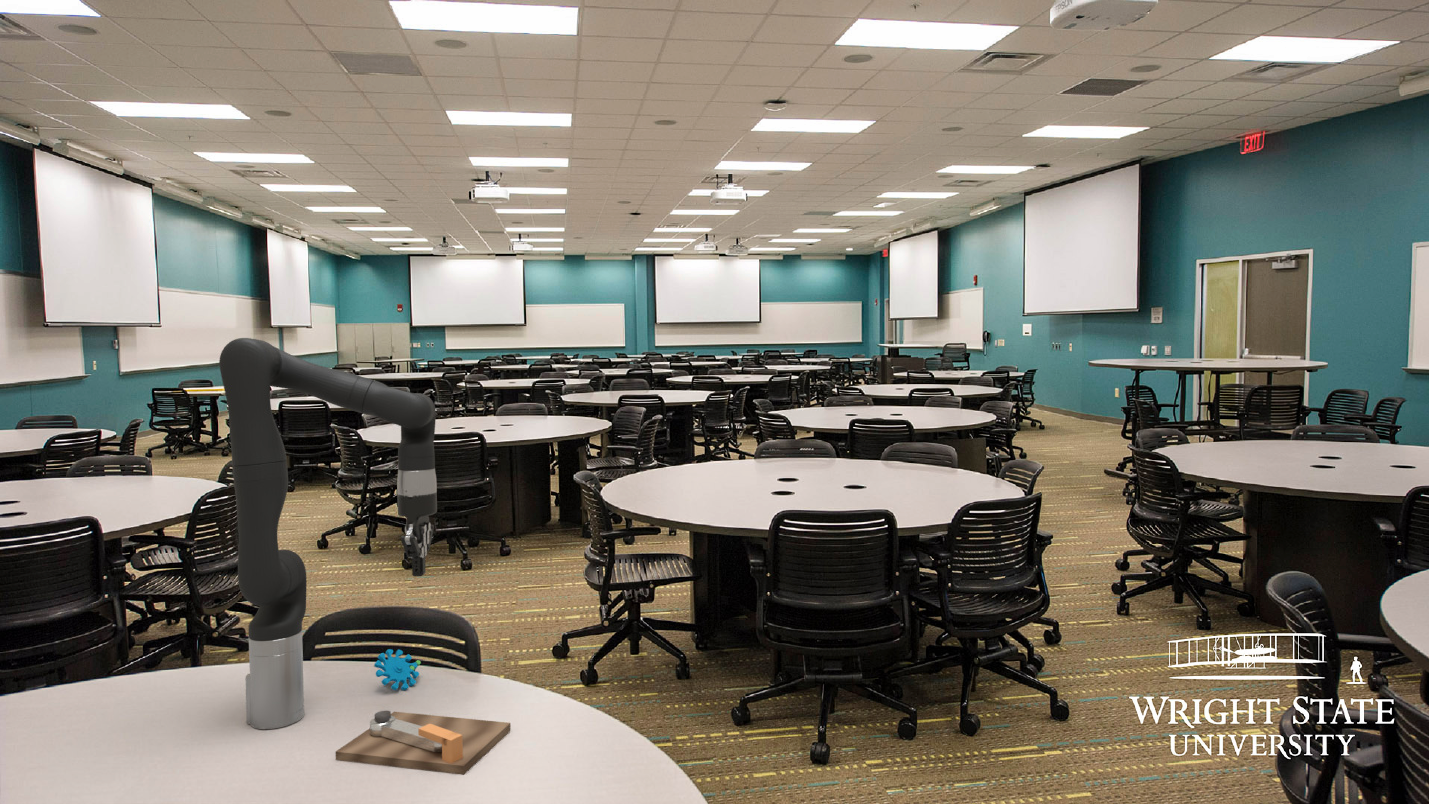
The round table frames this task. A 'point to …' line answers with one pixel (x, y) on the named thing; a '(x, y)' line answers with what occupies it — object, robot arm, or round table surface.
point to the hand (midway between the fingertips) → (418, 575)
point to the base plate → (394, 753)
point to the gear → (397, 669)
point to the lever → (403, 733)
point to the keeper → (444, 741)
